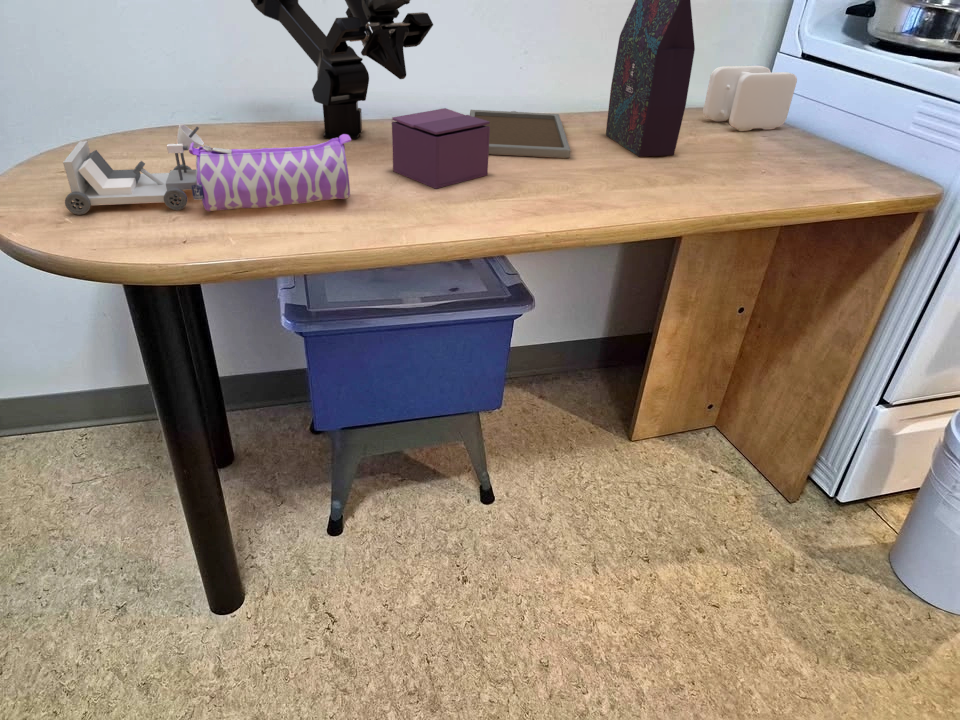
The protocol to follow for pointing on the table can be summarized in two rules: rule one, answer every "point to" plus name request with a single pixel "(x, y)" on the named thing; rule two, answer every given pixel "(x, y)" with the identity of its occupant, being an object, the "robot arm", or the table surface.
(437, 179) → the box
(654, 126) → the decorative box
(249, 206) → the pencil case
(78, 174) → the toy car
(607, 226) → the table surface
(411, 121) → the flap
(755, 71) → the cable organizer
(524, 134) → the grey rectangular tray
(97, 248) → the table surface
